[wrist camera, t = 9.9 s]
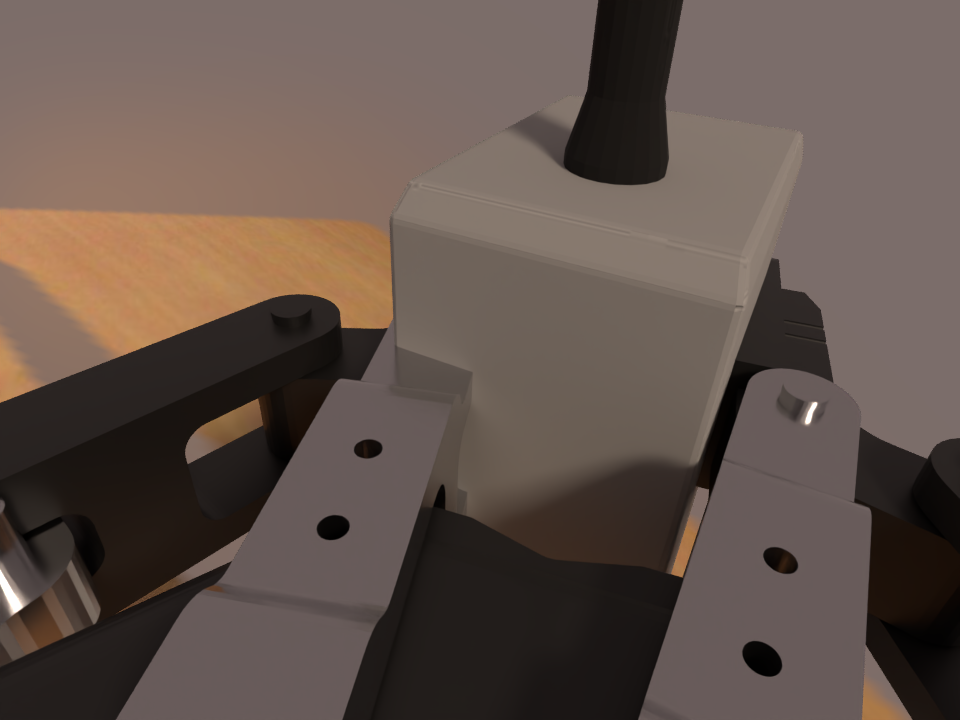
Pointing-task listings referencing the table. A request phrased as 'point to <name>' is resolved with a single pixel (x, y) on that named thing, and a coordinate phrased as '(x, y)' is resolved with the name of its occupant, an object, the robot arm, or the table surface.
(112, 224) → the table surface
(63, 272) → the table surface
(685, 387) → the vintage mobile phone
